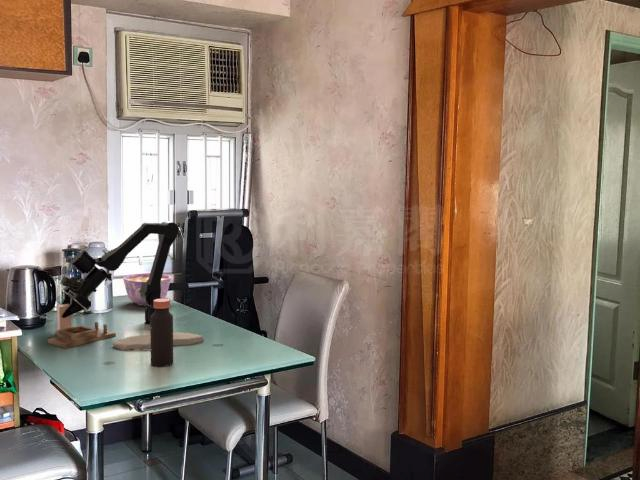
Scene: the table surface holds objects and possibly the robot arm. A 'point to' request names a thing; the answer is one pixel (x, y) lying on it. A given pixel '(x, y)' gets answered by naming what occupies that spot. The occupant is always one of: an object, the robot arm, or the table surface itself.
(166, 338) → the bottle
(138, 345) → the stone tablet
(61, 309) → the clay bar
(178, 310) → the table surface
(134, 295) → the bowl of food
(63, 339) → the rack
